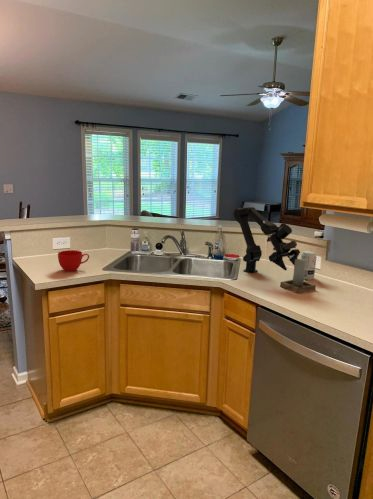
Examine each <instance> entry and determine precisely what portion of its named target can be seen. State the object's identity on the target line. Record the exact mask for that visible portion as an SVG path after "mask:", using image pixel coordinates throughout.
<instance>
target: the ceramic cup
mask: <svg viewBox="0 0 373 499" xmlns="http://www.w3.org/2000/svg"><path fill="white" fill-rule="evenodd" d="M85 256H87V258H86V259H85V260H83V257H85ZM57 258H58V264H59V266H60V267H61V269H62V270H63V271H64V272H66V273H69V272H70V273H71V272H77V270H78V269H79V267H81V265H82V264H84V263H86V262H88V260H89V259H90V255H89V254H88V253H83V252H82V251H80V250H72V249H71V250H69V249H68V250H62V251H58V252H57ZM82 260H83V261H82Z"/></svg>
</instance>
